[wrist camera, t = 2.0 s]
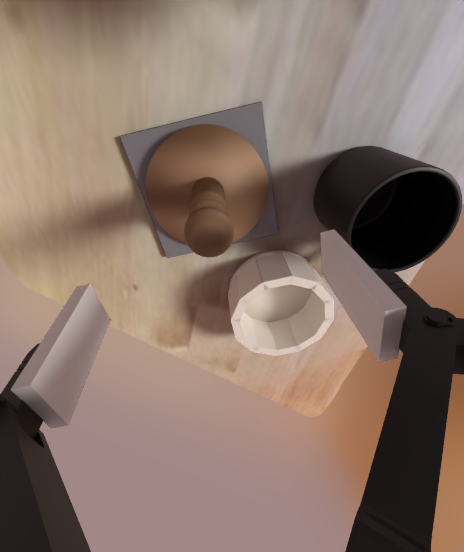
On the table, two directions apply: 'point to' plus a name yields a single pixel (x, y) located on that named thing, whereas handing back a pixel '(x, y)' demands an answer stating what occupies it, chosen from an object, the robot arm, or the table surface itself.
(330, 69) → the table surface
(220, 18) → the table surface
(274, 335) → the bowl
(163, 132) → the mat
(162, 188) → the lid
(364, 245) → the mug
